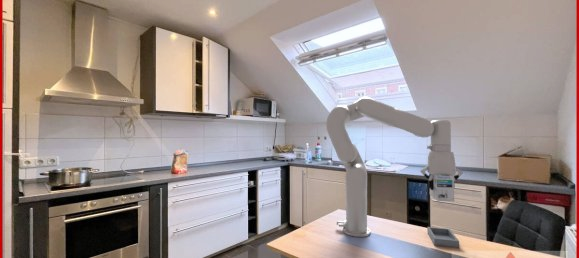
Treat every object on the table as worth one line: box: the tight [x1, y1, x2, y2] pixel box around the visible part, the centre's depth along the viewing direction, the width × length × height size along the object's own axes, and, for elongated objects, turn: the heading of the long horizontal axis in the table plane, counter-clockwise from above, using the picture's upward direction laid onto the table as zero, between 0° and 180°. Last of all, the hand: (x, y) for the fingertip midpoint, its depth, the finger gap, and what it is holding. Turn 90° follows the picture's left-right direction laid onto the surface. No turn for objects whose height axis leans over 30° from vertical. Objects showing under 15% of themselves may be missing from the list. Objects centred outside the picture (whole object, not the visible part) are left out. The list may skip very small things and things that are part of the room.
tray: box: [426, 226, 460, 249], centre depth 114 cm, size 9×13×3 cm
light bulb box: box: [428, 173, 455, 203], centre depth 114 cm, size 11×7×11 cm, turn 168°
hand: (441, 189), depth 114 cm, fingers closed on light bulb box, 7 cm apart
